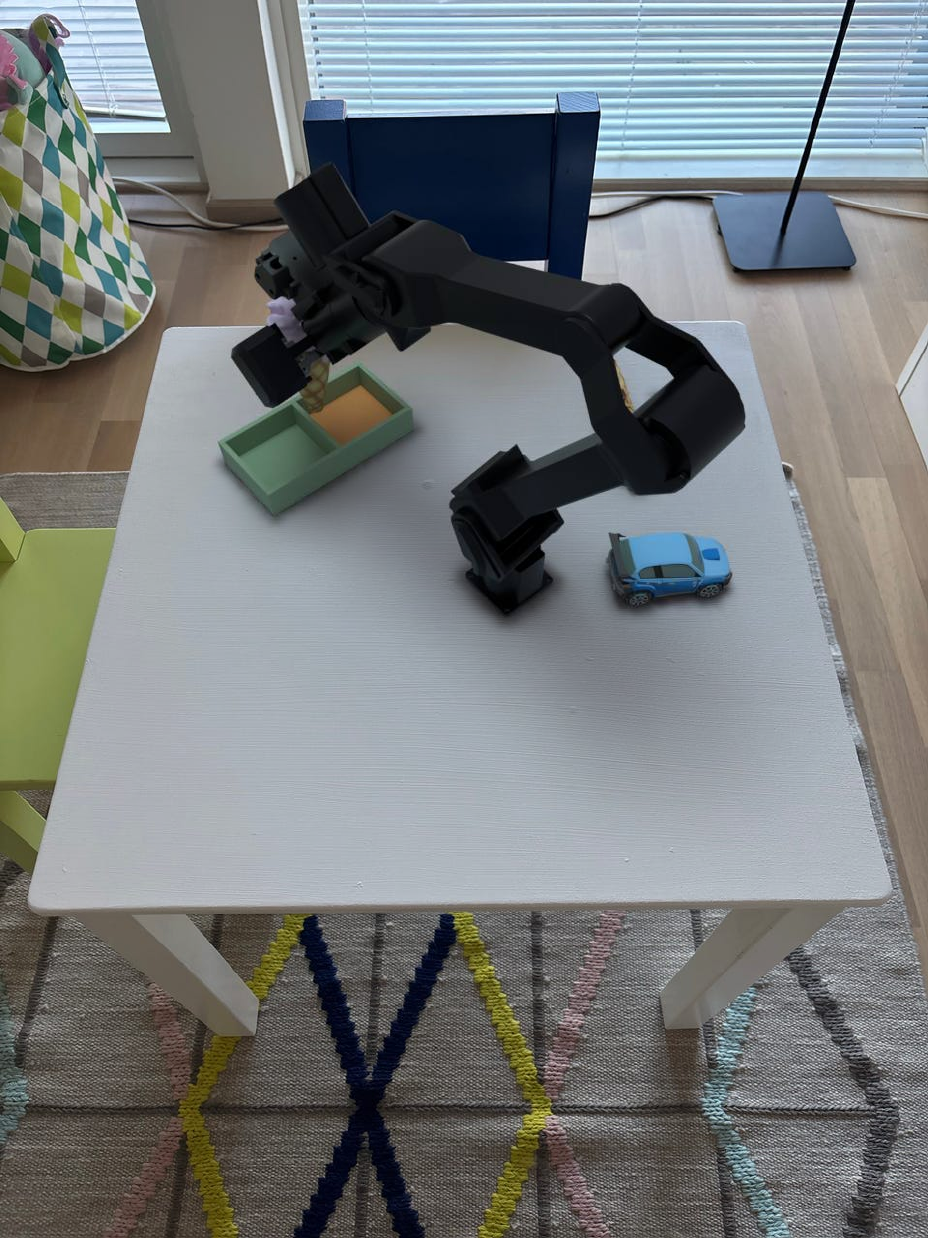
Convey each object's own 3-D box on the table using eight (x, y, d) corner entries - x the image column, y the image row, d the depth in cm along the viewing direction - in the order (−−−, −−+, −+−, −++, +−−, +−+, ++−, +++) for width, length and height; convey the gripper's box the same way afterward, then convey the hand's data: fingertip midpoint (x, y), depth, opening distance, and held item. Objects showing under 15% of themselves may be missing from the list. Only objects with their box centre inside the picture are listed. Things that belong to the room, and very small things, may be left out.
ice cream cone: (358, 394, 99) (340, 275, 86) (340, 435, 96) (318, 318, 83) (300, 384, 100) (274, 265, 87) (280, 424, 97) (250, 307, 84)
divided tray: (414, 429, 102) (412, 407, 99) (274, 516, 96) (267, 495, 93) (362, 382, 106) (359, 360, 103) (224, 462, 100) (217, 441, 97)
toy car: (731, 597, 90) (746, 564, 85) (611, 609, 90) (619, 577, 85) (716, 549, 93) (729, 515, 88) (600, 561, 93) (607, 526, 88)
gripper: (387, 170, 79) (323, 230, 93) (216, 273, 72) (173, 322, 86) (455, 286, 83) (383, 328, 96) (298, 395, 76) (245, 423, 89)
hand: (299, 347), depth 92 cm, fingers closed on ice cream cone, 6 cm apart
